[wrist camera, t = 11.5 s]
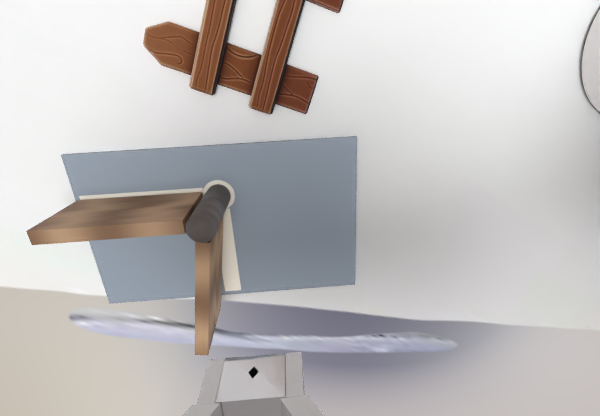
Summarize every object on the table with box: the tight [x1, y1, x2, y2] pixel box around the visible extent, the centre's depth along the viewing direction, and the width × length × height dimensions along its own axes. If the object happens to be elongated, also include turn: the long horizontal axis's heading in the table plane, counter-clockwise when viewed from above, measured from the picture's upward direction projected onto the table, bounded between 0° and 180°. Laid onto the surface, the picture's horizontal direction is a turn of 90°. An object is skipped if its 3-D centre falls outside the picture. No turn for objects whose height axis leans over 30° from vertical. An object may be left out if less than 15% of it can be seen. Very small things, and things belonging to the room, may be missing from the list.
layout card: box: [61, 136, 357, 303], centre depth 34 cm, size 28×17×1 cm, turn 93°
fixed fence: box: [27, 184, 231, 245], centre depth 29 cm, size 15×2×8 cm, turn 93°
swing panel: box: [195, 216, 224, 355], centre depth 32 cm, size 12×1×7 cm, turn 173°
